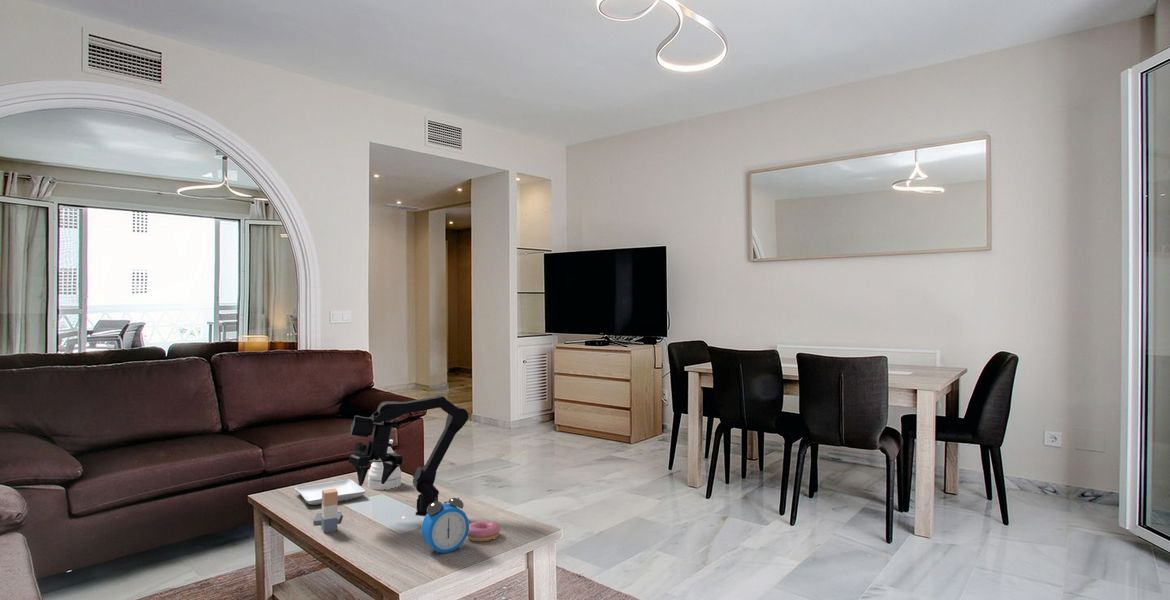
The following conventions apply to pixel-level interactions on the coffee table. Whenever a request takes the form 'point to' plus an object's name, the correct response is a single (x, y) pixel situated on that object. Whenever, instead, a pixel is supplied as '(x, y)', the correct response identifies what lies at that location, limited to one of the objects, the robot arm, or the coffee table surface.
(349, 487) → the salad plate
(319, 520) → the baseplate
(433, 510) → the alarm clock
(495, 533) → the doughnut
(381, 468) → the honey pot
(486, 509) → the coffee table surface
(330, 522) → the brick stack
